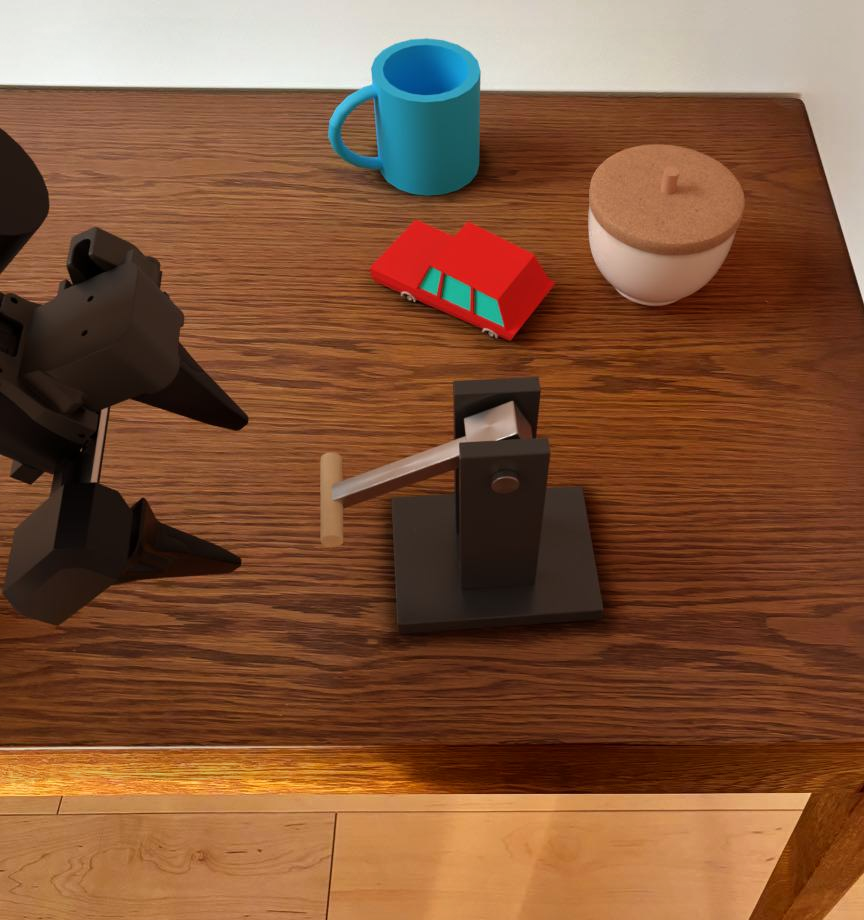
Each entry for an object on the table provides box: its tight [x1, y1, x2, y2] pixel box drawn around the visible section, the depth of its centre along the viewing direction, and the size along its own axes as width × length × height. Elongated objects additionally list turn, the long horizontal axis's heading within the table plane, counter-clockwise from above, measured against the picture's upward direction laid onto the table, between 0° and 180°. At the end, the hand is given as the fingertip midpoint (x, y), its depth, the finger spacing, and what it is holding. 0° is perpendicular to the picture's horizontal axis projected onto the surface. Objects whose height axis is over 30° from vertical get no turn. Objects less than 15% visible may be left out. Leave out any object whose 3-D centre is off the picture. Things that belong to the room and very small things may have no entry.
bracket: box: [390, 376, 604, 635], centre depth 56 cm, size 12×9×14 cm
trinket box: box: [587, 143, 746, 307], centre depth 72 cm, size 11×11×9 cm
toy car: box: [369, 219, 557, 342], centre depth 73 cm, size 6×12×4 cm, turn 60°
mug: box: [327, 37, 481, 197], centre depth 79 cm, size 12×8×8 cm
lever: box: [319, 401, 533, 548], centre depth 53 cm, size 12×6×2 cm, turn 96°
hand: (240, 492), depth 53 cm, fingers open, 9 cm apart
